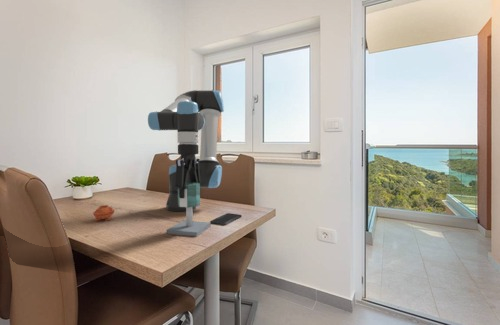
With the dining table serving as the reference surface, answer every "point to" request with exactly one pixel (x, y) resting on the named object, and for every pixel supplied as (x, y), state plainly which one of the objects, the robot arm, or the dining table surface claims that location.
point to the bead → (192, 194)
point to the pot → (103, 212)
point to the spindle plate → (189, 230)
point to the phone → (225, 219)
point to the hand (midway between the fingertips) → (189, 204)
